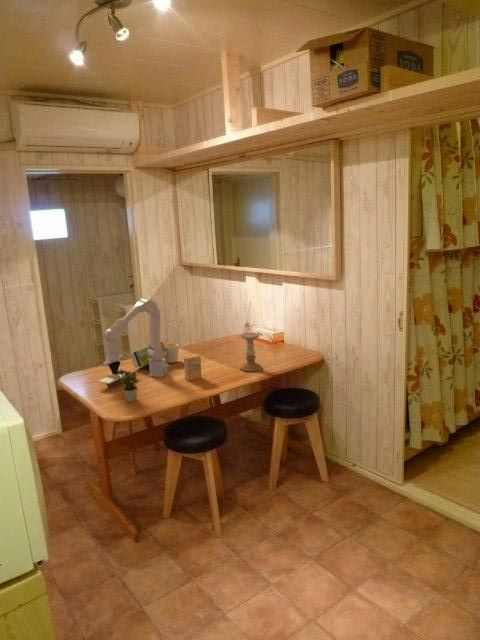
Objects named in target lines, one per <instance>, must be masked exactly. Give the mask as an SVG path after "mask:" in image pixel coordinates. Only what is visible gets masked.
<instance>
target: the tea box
mask: <svg viewBox="0 0 480 640" xmlns="http://www.w3.org/2000/svg"><path fill="white" fill-rule="evenodd" d="M160 345H161V347H162V352H163V357H162V360H164V359H165V358H166V357H168V355H167V352H166V349H165V347H164V342H163V341H160ZM147 349H148V346H144V347H141V348H140V349H138V350H134V351H132V352H130V353H129V355H130V357H131V360H132V363H133V367H134V368H135V369H138V368H139V369H140V368H141V367H145V366H148V365H149V356H148V355H147V353H146V352H147Z"/></svg>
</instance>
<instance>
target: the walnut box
mask: <svg viewBox="0 0 480 640" xmlns="http://www.w3.org/2000/svg"><path fill="white" fill-rule="evenodd" d="M119 371H120V372H121V373H122V374H123V375H125V371H126V372H127V373H128V375H129V373H130V372H131V373H130V376H129V378H130V381H131V378H132V377H133V374H134V372H135V375H137V373H136V372H137V371H136V370H133V371H130V372H129V371H127V370H125V371H124V369H122V368H121V369H118V374H120V375H122V374H121V373H120V372H119ZM135 375H134V376H135ZM106 377H107V375H106V376H105V378H106ZM124 377H126V376H124ZM124 377H123V378H124ZM123 378H120V379H119V380H117V381H115V382H113V383H111V384H108V385H109V386H110V385H111V386H117V387H119V385H120V384H123V385H121V386H120V387H122V386H123V387H124V386H126V385H125V384H124V383H123V382H121V380H124V379H123ZM134 378H135V377H134ZM135 380H137V377H136V378H135Z"/></svg>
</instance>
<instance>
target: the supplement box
mask: <svg viewBox="0 0 480 640" xmlns="http://www.w3.org/2000/svg"><path fill="white" fill-rule="evenodd" d="M201 357H202V356H201V355H199V353H197V354H193V355H192V354H191V355H186V356H183V363H184V364H183V366H184V368H183V369H184V379H185V380H186V381H187V382H190V381H195V379H196V380H199V378H201V379H202V377H203V375H202V359H201Z"/></svg>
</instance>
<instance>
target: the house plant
mask: <svg viewBox="0 0 480 640" xmlns="http://www.w3.org/2000/svg"><path fill="white" fill-rule="evenodd" d="M117 371H119V369H118V370H117ZM123 371H125V376H126V377H124V375H123V374H122V373H121V372H120V371H119V372H120V373H121V374H122V376H123V377H124V378H123V377H122V378H123V379H124V380H121V382H123V383H124V384H125V385H123V384H120V385H119V386H118V388H120V387H122V386H121V385H123V388H122V390H123V391H122V392H123V394H124V395H123V396H124V399H125V401H126V402H127V403H132V402H133V403H134V402H135V401H137V398H138V386H136V385H137V384H138V383H141V380H139V379H137V377H138V375H140V373H141V372H142V371H143V370H141V371H139V372H138V373H136V375H135V372H134V371H133V372H134V374H133V377H132V378H131V381H130V378H129V376H130V373H131V372H132V371H131V370H129V371H128V372H130V373H129V375H128V373H127V372H126V371H127V370H125V369H123ZM134 375H135V376H134ZM115 377H118V376H115ZM134 377H135V378H136V379H135V378H134Z"/></svg>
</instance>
